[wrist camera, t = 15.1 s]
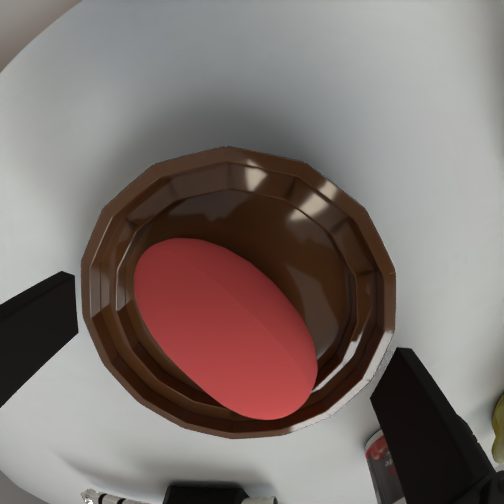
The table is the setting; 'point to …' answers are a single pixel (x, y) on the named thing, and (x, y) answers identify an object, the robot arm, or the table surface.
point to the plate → (263, 258)
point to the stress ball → (226, 327)
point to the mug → (498, 432)
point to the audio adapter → (184, 497)
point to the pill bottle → (383, 471)
